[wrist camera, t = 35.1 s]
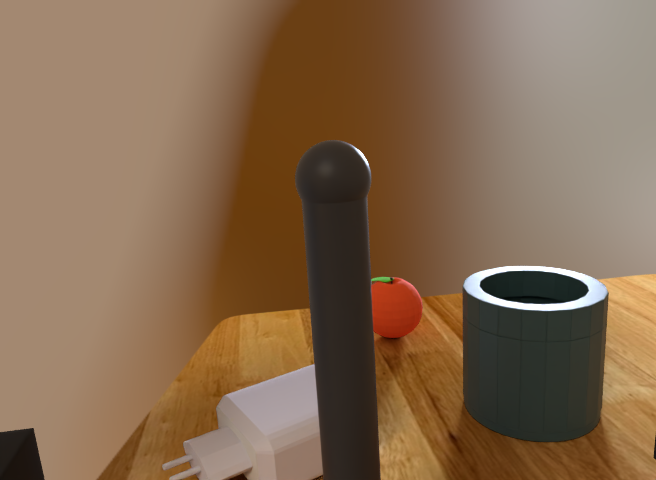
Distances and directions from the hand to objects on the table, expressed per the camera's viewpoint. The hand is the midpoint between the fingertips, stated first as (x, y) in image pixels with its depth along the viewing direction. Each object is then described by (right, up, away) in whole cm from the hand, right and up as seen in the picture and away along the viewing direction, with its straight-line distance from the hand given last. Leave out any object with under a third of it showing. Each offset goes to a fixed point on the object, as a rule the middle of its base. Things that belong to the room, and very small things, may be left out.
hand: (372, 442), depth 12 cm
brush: (+1, -17, +16) cm, 23 cm away
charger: (-6, -13, +32) cm, 35 cm away
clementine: (+6, -7, +54) cm, 55 cm away
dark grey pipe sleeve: (+17, -10, +37) cm, 42 cm away
